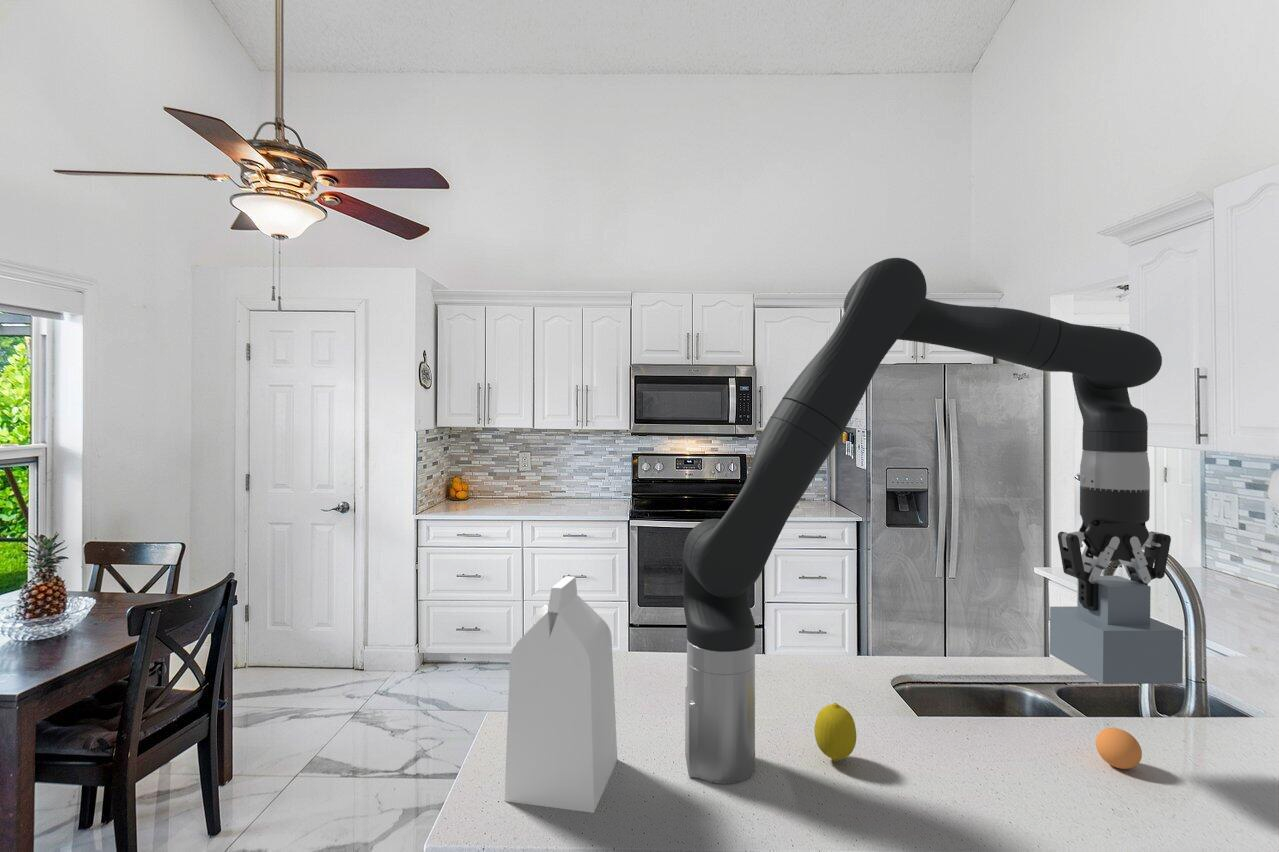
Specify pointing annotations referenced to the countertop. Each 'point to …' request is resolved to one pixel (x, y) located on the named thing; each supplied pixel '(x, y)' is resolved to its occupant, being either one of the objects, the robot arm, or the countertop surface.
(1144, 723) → the countertop surface
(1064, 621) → the gray stepped step block
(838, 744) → the lemon
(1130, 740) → the brown egg
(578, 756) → the milk
